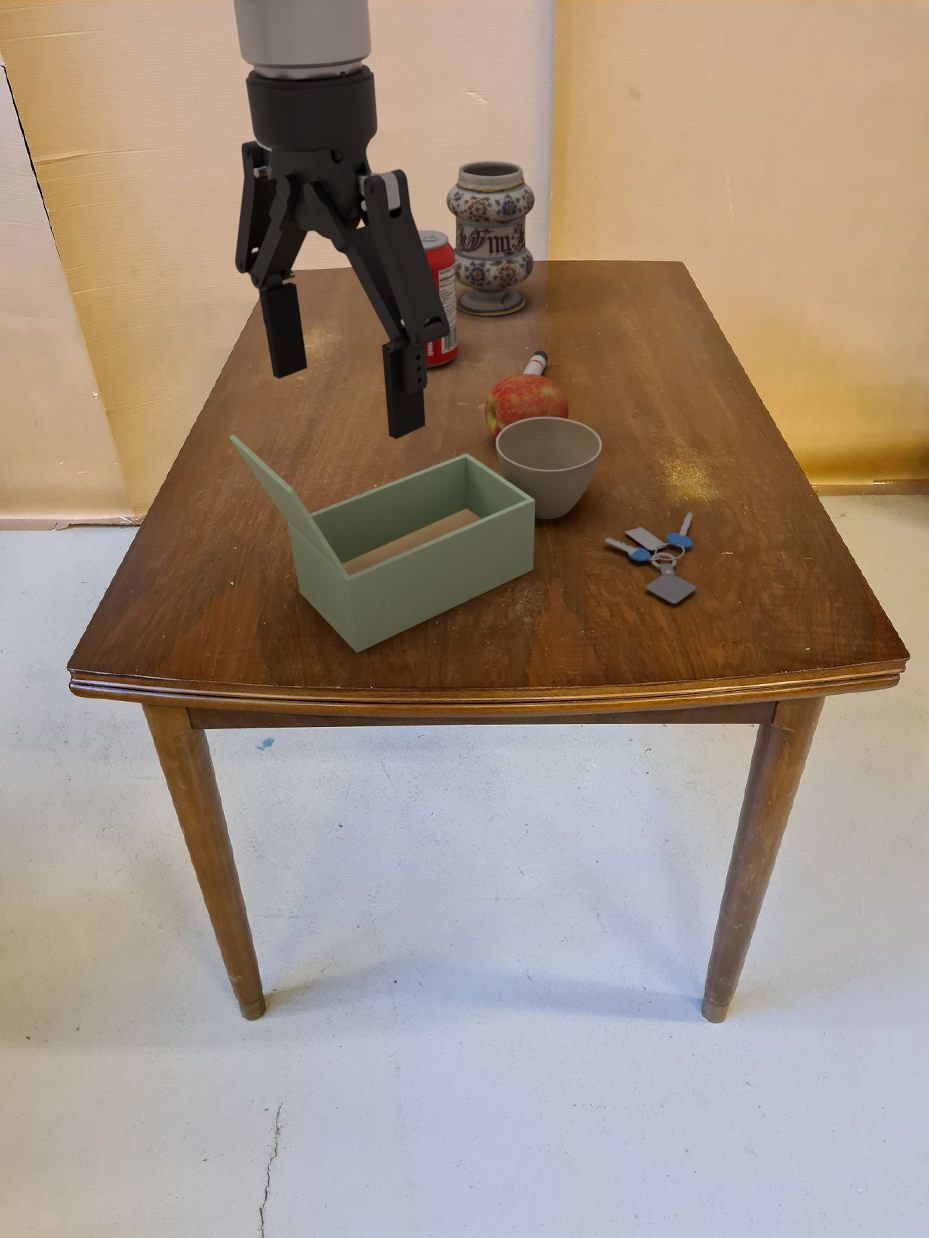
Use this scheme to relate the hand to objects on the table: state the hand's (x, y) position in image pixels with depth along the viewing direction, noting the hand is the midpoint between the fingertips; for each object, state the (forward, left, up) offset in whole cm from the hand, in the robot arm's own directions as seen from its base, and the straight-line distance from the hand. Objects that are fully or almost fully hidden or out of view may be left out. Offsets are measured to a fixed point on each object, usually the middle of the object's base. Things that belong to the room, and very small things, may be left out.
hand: (345, 400), depth 67 cm
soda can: (+17, +47, -19) cm, 53 cm away
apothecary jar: (+30, +62, -19) cm, 71 cm away
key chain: (+26, -1, -19) cm, 32 cm away
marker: (+26, +34, -19) cm, 47 cm away
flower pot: (+20, +10, -19) cm, 29 cm away
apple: (+22, +22, -19) cm, 36 cm away
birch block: (+5, +2, -19) cm, 19 cm away
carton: (+5, +2, -19) cm, 20 cm away
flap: (-5, -2, -7) cm, 9 cm away
